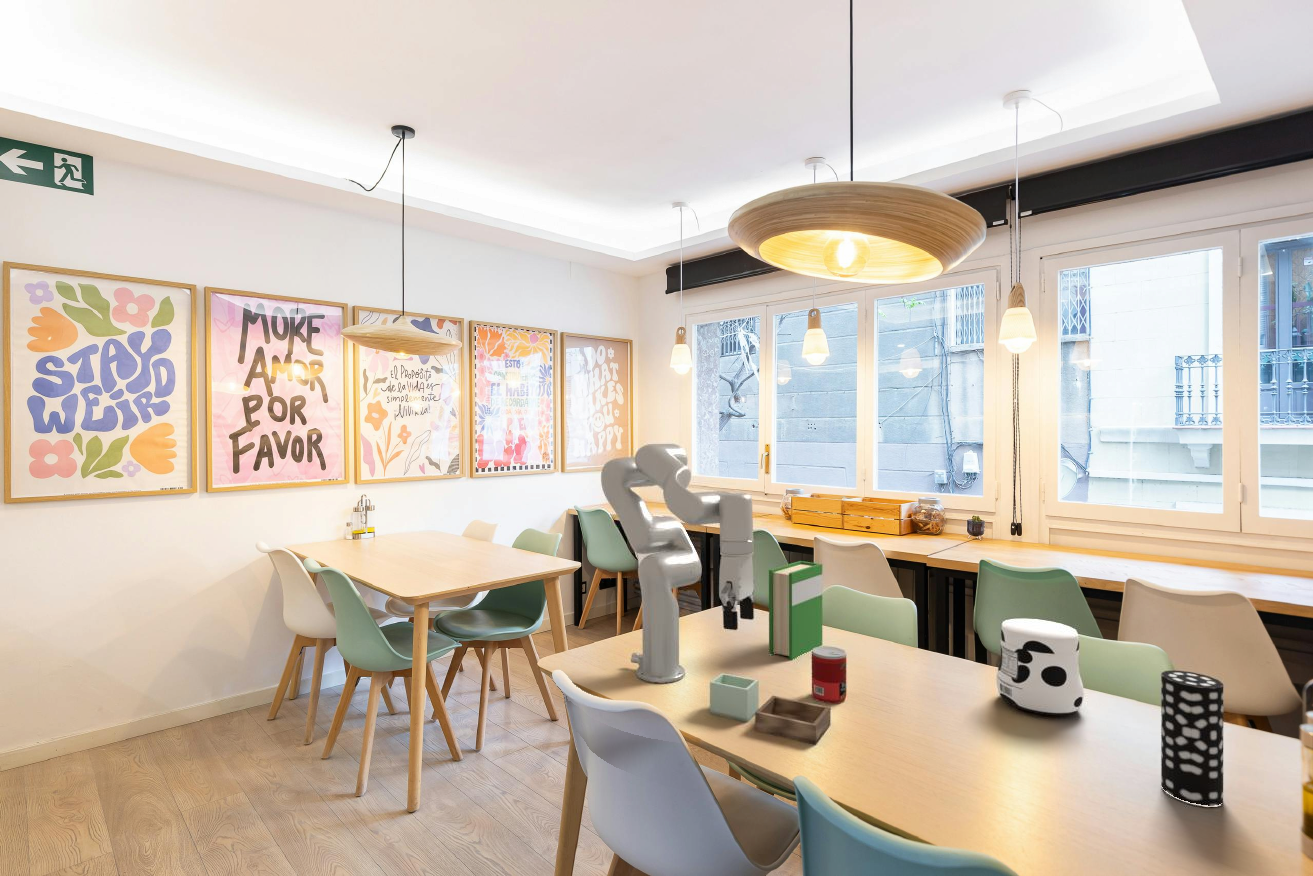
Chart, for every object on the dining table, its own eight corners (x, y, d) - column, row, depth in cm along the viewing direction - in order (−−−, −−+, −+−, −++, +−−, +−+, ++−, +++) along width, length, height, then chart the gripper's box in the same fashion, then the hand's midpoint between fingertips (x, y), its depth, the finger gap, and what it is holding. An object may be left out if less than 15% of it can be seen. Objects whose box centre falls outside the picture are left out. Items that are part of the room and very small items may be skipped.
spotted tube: (1149, 783, 118) (1149, 671, 118) (1192, 781, 119) (1192, 669, 119) (1190, 809, 110) (1190, 689, 110) (1236, 807, 110) (1237, 687, 110)
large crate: (755, 730, 140) (755, 712, 140) (772, 712, 149) (772, 695, 149) (815, 744, 133) (815, 726, 133) (830, 725, 142) (830, 707, 142)
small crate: (710, 713, 148) (709, 682, 148) (722, 703, 154) (722, 673, 154) (747, 722, 144) (747, 689, 144) (758, 711, 149) (758, 680, 149)
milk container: (1091, 705, 152) (1091, 626, 152) (1074, 729, 140) (1074, 644, 139) (1008, 685, 164) (1008, 613, 164) (986, 707, 151) (986, 628, 151)
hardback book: (792, 660, 183) (791, 573, 183) (769, 654, 188) (768, 570, 188) (822, 645, 196) (822, 564, 196) (800, 640, 201) (799, 561, 201)
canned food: (847, 705, 153) (847, 657, 153) (812, 702, 154) (812, 655, 154) (845, 692, 160) (845, 647, 160) (811, 690, 162) (811, 645, 162)
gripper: (736, 542, 160) (738, 613, 159) (705, 552, 144) (707, 631, 144) (765, 543, 156) (767, 616, 155) (737, 554, 141) (740, 635, 140)
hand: (739, 623), depth 150 cm, fingers open, 9 cm apart
